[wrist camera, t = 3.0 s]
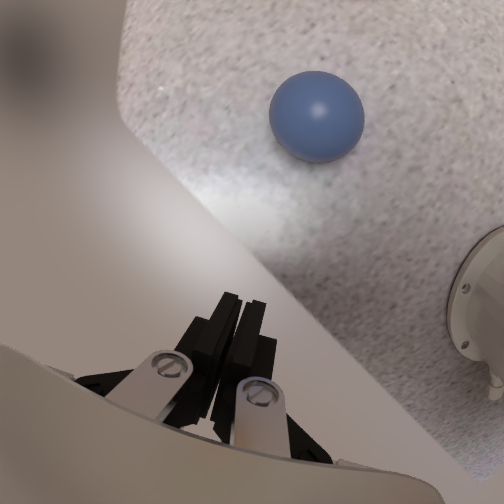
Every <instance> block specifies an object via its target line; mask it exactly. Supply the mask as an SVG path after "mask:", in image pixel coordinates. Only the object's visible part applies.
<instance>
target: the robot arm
mask: <svg viewBox="0 0 504 504" xmlns="http://www.w3.org/2000/svg"><path fill="white" fill-rule="evenodd" d="M241 305H242V300H240V299H238V295H235V294H232V293H228V292H224V294H223V296H222V298H221V300H220V302H219V303H218V305H217V307H216V309H215V311H214V312H213V314H212V316H211V318H210V319H209V320H207V319H204V318H201V317H198V316H197V317H195V318H194V320H193V321H192V323H191V324H190V326H189V328H188V329H187V331H186V332H185V334H184V335H183V337H182V338H181V340H180V341H179V343H178V345H177V346H176V348H175V349H174V351H173V350H159V351H156V352H154V353H152V354H151V355H149V356H148V357H147V358H146V359H145V360H144V361H143V362H142V363H141V364H140V365H139V366H138V367H137V368H135V369H132V370H125V371H119V372H112V373H104V374H97V375H89V376H84V377H80V378H78V379H75V378H74V375H73V374H70V373H67V372H64V371H61V370H58V369H55V368H52V367H50V366H47V365H44V364H42V363H40V362H38V361H37V360H35V359H33V358H31V357H30V356H27V355H26V354H24V353H22V352H20V351H18V350H16V349H13V348H11V347H9V346H6V345H4V344H0V504H445V502H444V500H443V498H442V496H441V494H440V493H439V491H438V490H437V489H436V488H435V487H433V486H432V485H431V484H429V483H427V482H425V481H423V480H421V479H417V478H415V477H412V476H409V475H406V474H401V473H397V472H392V471H385V470H380V469H376V468H372V467H368V466H364V465H360V464H357V463H353V462H349V461H346V460H343V459H339V460H338V461H334V460H332V459H331V457H330V456H329V454H328V453H327V452H326V451H325V450H324V449H323V448H322V447H321V446H320V445H318V444H317V443H316V442H315V441H314V440H313V439H312V438H311V437H310V436H309V435H308V434H307V433H306V432H305V431H304V430H303V429H302V428H301V427H300V426H299V425H297V423H296V422H295V421H294V420H293V419H291V417H290V416H289V415H288V414H287V413H286V408H285V399H284V394H283V391H282V390H281V388H280V387H279V386H278V385H277V384H276V383H274V382H273V381H271V379H272V372H273V365H274V359H275V352H276V344H277V339H273V338H269V337H266V336H262V335H259V333H260V328H261V324H262V320H263V316H264V312H265V307H266V303H263V302H260V301H256V300H253V301H252V303H250V302H246V305H245V308H244V311H243V313H242V316H241V319H240V322H239V324H238V327H237V329H236V325H237V321H238V317H239V313H240V309H241ZM447 324H448V331H449V334H450V337H451V340H452V342H453V343H454V345H455V347H456V348H457V350H458V351H459V352H460V353H461V354H462V355H463V356H465V357H466V358H468V359H470V360H474V361H485V362H486V363H487V365H488V366H489V374H490V376H491V378H490V380H489V385H488V389H487V397H488V399H490V400H498V399H500V398H501V397H502V395H503V392H504V227H500V228H498V229H497V230H495V231H493V232H491V233H490V234H489V235H487V236H486V237H485V238H484V239H483V240H482V241H480V242H479V244H478V245H477V246H476V247H475V248H474V249H473V250H472V252H471V253H470V254H469V256H468V257H467V259H466V260H465V262H464V263H463V265H462V267H461V269H460V271H459V273H458V275H457V277H456V279H455V282H454V285H453V288H452V290H451V294H450V298H449V303H448V310H447ZM235 329H236V332H235ZM234 333H235V335H234ZM219 381H220V382H219ZM218 383H219V386H218ZM217 386H218V390H217V394H216V398H215V402H214V406H213V410H212V414H211V417H210V420H211V421H214V422H215V424H214V427H213V430H214V431H215V433H216V434H217V435H218V437H219V438H220V439H221V440H220V442H218V441H215V440H211V439H208V438H205V437H202V436H198V435H195V434H192V433H189V432H186V431H184V430H183V429H184V426H187V425H191V424H195V425H197V423H198V421H199V418H200V417H201V418H204V419H205V418H206V416H207V413H208V410H209V408H210V405H211V402H212V400H213V397H214V394H215V391H216V389H217Z"/></svg>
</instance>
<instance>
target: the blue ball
mask: <svg viewBox="0 0 504 504" xmlns="http://www.w3.org/2000/svg"><path fill="white" fill-rule="evenodd" d="M269 120H270V125H271V128H272V131H273V133H274V136H275V137H276V139H277V141H278V142H279V143H280V145H281V146H282V147H283V148H284V149H285V150H286V151H288V152H289V153H290V154H292V155H294V156H295V157H297V158H300V159H302V160H305V161H309V162H318V163H321V162H329V161H333V160H336V159H339V158H341V157H343V156H344V155H346V154H347V153H348V152H350V151H351V150H352V149H353V148H354V147H355V145H356V144H357V143H358V141H359V139H360V137H361V135H362V132H363V128H364V109H363V106H362V103H361V100H360V98H359V96H358V95H357V93H356V92H355V90H354V89H353V88H352V87H351V86H350V85H349V84H348V83H347V82H345V81H344V80H343V79H341V78H339V77H338V76H335V75H333V74H330V73H327V72H322V71H307V72H302V73H299V74H296V75H294V76H292V77H290V78H289V79H287V80H286V81H285V82H283V83H282V84H281V85H280V87H279V88H278V89H277V91H276V92H275V94H274V96H273V98H272V100H271V104H270V109H269Z"/></svg>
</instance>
